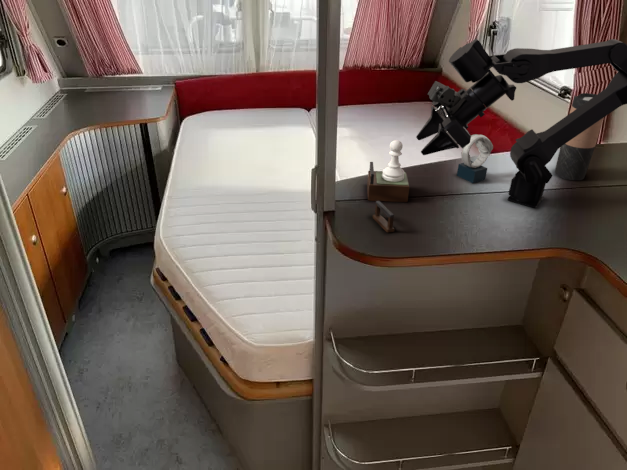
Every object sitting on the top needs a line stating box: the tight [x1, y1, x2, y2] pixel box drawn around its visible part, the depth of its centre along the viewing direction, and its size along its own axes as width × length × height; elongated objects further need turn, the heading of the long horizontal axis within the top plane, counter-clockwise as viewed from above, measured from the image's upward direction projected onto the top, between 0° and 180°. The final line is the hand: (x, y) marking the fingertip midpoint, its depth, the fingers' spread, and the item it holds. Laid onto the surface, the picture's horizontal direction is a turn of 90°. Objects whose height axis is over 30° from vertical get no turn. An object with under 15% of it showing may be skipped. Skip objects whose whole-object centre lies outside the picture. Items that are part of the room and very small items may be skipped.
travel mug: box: [554, 92, 604, 181], centre depth 131 cm, size 8×8×20 cm
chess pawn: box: [382, 139, 405, 182], centre depth 119 cm, size 5×5×9 cm
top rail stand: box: [366, 161, 410, 203], centre depth 122 cm, size 9×8×6 cm
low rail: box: [372, 201, 395, 234], centre depth 110 cm, size 7×2×4 cm, turn 21°
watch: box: [456, 133, 494, 184], centre depth 130 cm, size 6×8×11 cm
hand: (419, 145), depth 118 cm, fingers open, 9 cm apart
